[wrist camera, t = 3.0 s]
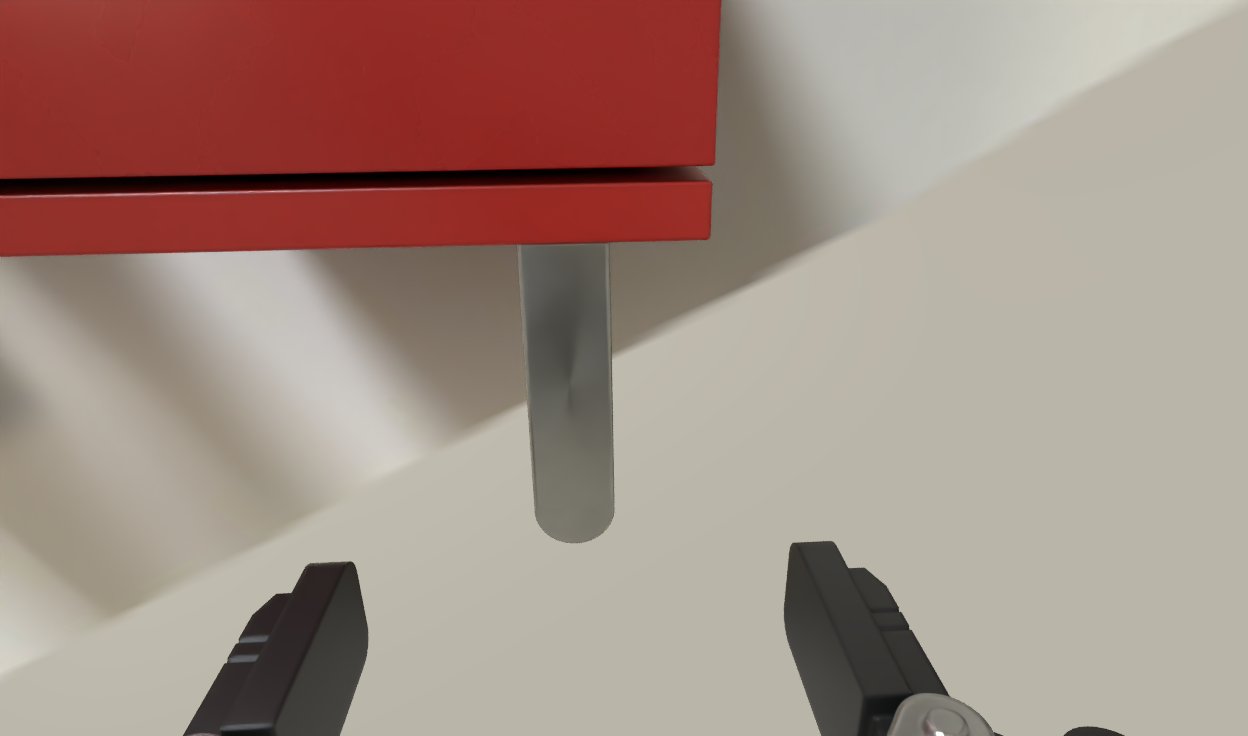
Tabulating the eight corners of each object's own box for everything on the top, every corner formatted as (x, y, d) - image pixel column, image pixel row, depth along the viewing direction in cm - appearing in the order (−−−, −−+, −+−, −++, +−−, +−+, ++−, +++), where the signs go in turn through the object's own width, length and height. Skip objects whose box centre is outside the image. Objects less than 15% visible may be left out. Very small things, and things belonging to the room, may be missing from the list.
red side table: (628, 263, 35) (699, 546, 15) (239, 273, 34) (-239, 590, 14) (627, 99, 32) (713, 180, 12) (201, 105, 31) (-470, 204, 11)
